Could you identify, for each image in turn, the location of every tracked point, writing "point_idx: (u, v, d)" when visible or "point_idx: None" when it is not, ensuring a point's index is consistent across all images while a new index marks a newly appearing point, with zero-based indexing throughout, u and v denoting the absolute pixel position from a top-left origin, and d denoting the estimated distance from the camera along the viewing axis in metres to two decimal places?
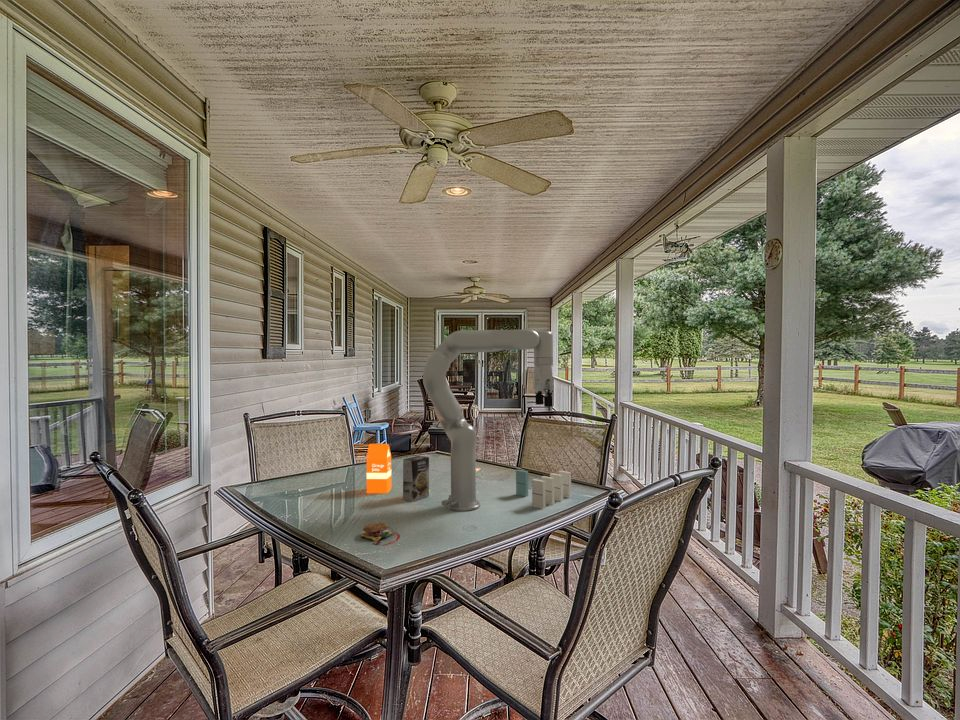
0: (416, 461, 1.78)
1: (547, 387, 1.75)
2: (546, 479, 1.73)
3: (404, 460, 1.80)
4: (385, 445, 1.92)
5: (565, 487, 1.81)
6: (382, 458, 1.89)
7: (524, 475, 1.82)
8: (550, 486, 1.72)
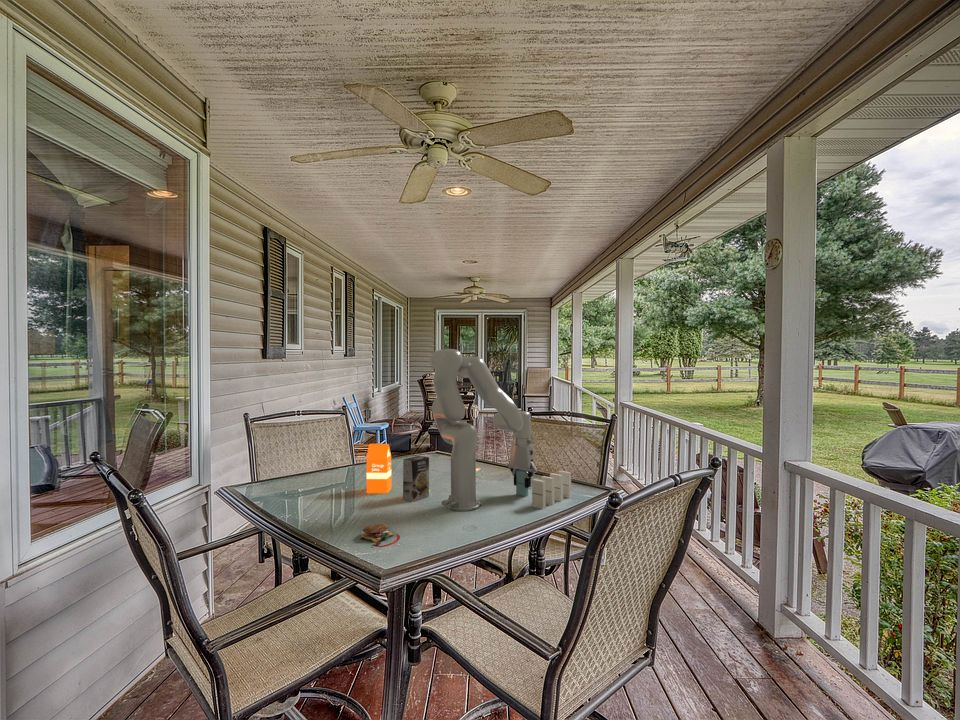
0: (416, 461, 1.78)
1: None
2: (546, 479, 1.73)
3: (404, 460, 1.80)
4: (385, 445, 1.92)
5: (565, 487, 1.81)
6: (382, 458, 1.89)
7: (524, 475, 1.82)
8: (550, 486, 1.72)
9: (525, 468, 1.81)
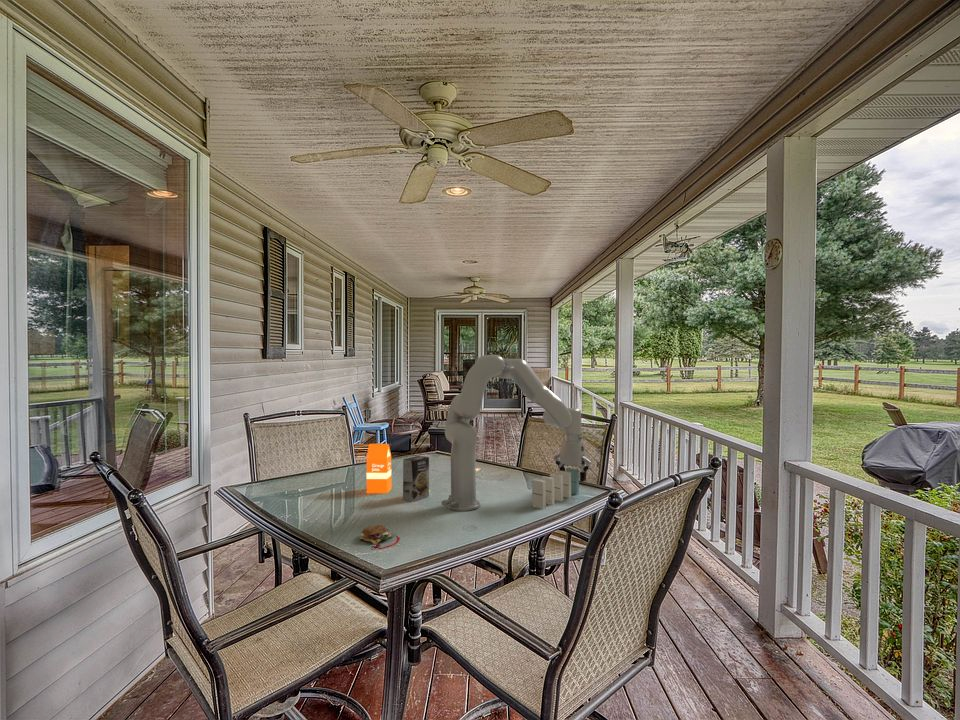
0: (416, 461, 1.78)
1: None
2: (546, 479, 1.73)
3: (404, 460, 1.80)
4: (385, 445, 1.92)
5: (565, 487, 1.81)
6: (382, 458, 1.89)
7: (575, 473, 1.85)
8: (550, 486, 1.72)
9: (576, 464, 1.83)
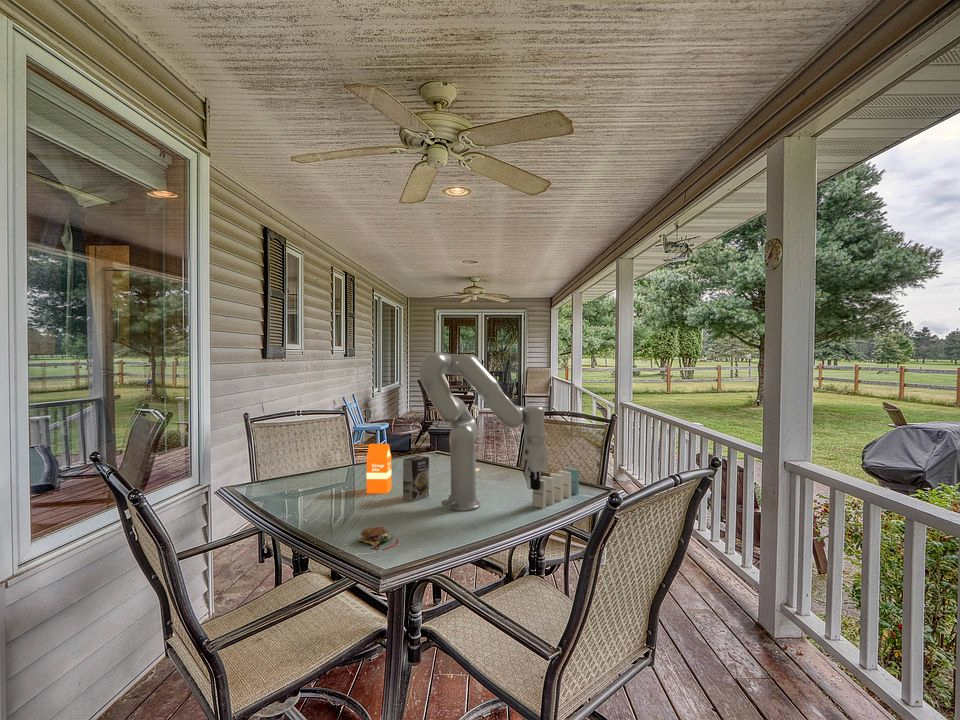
0: (416, 461, 1.78)
1: None
2: (546, 479, 1.73)
3: (404, 460, 1.80)
4: (385, 445, 1.92)
5: (565, 487, 1.81)
6: (382, 458, 1.89)
7: (575, 473, 1.85)
8: (550, 486, 1.72)
9: None
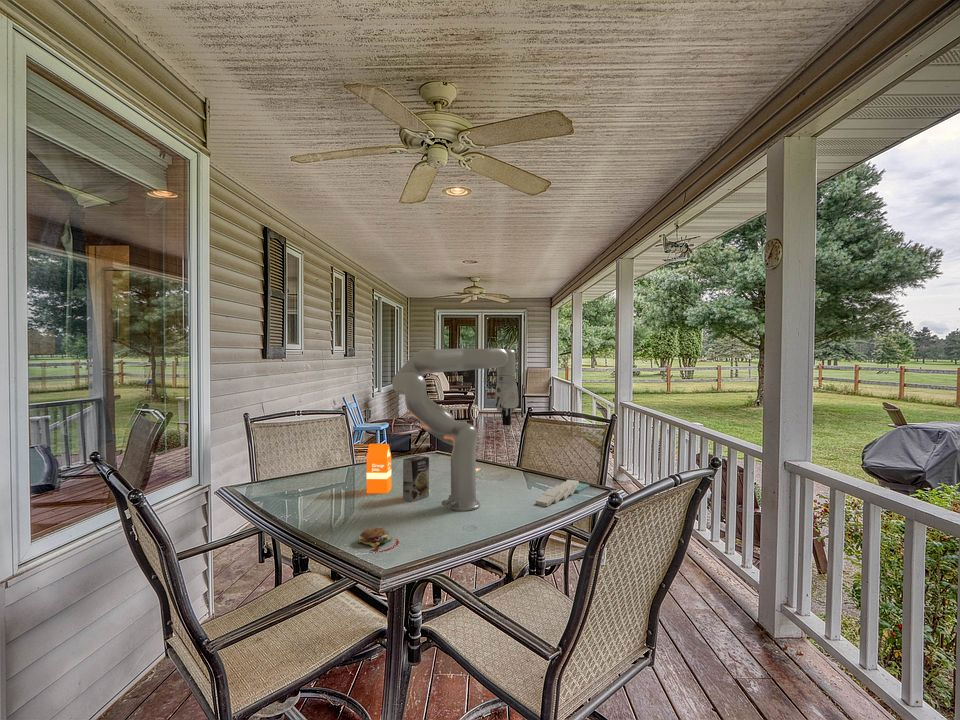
0: (416, 461, 1.78)
1: None
2: (561, 486, 1.82)
3: (404, 460, 1.80)
4: (385, 445, 1.92)
5: None
6: (382, 458, 1.89)
7: (586, 485, 1.93)
8: (562, 490, 1.79)
9: None
